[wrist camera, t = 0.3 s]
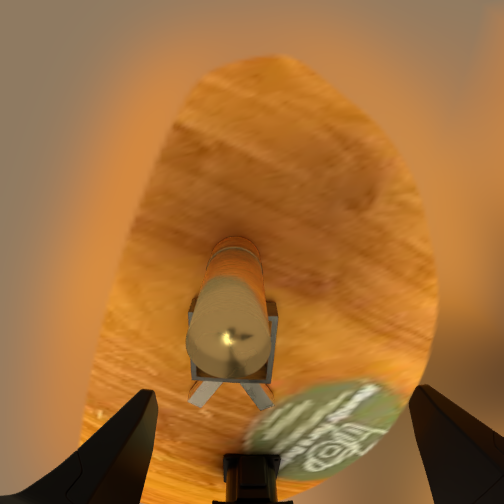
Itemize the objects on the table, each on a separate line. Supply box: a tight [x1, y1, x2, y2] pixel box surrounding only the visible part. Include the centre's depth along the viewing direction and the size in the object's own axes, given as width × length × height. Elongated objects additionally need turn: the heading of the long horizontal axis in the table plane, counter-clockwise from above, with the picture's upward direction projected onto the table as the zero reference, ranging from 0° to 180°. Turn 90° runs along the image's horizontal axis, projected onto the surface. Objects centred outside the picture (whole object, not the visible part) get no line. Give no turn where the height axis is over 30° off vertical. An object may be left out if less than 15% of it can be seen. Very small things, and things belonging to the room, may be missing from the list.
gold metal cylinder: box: [186, 237, 271, 379], centre depth 18 cm, size 4×4×11 cm
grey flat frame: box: [187, 299, 278, 411], centre depth 25 cm, size 11×8×2 cm
